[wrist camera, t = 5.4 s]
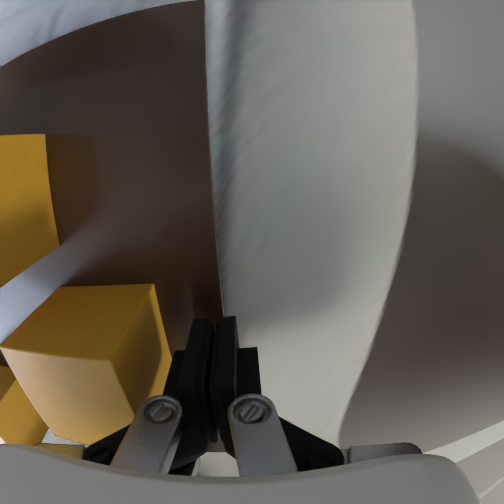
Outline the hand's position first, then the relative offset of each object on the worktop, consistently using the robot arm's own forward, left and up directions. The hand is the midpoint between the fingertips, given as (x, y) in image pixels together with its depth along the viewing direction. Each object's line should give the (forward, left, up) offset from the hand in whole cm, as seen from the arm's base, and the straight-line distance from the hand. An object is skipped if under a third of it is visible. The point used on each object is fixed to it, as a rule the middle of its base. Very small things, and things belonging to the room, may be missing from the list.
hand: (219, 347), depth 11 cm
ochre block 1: (-7, -9, -1) cm, 12 cm away
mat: (-2, -10, -2) cm, 10 cm away
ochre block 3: (0, -5, -1) cm, 5 cm away
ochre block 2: (+6, -16, -1) cm, 17 cm away
